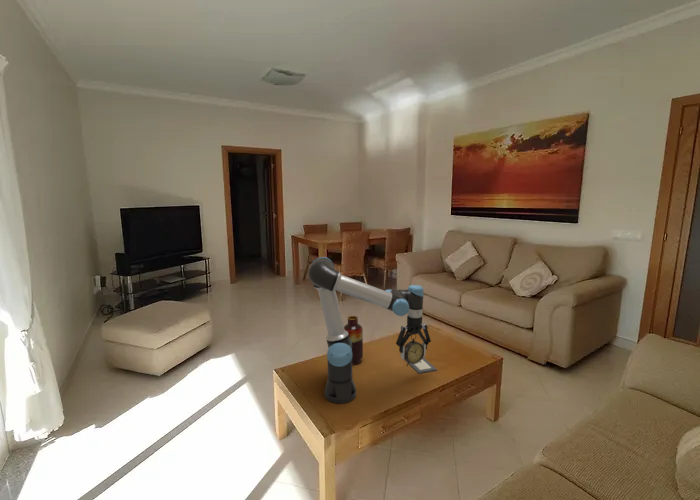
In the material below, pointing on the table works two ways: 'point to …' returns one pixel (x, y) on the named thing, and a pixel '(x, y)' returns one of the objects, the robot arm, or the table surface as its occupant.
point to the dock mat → (422, 366)
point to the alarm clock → (413, 352)
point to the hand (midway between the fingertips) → (412, 356)
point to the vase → (355, 338)
